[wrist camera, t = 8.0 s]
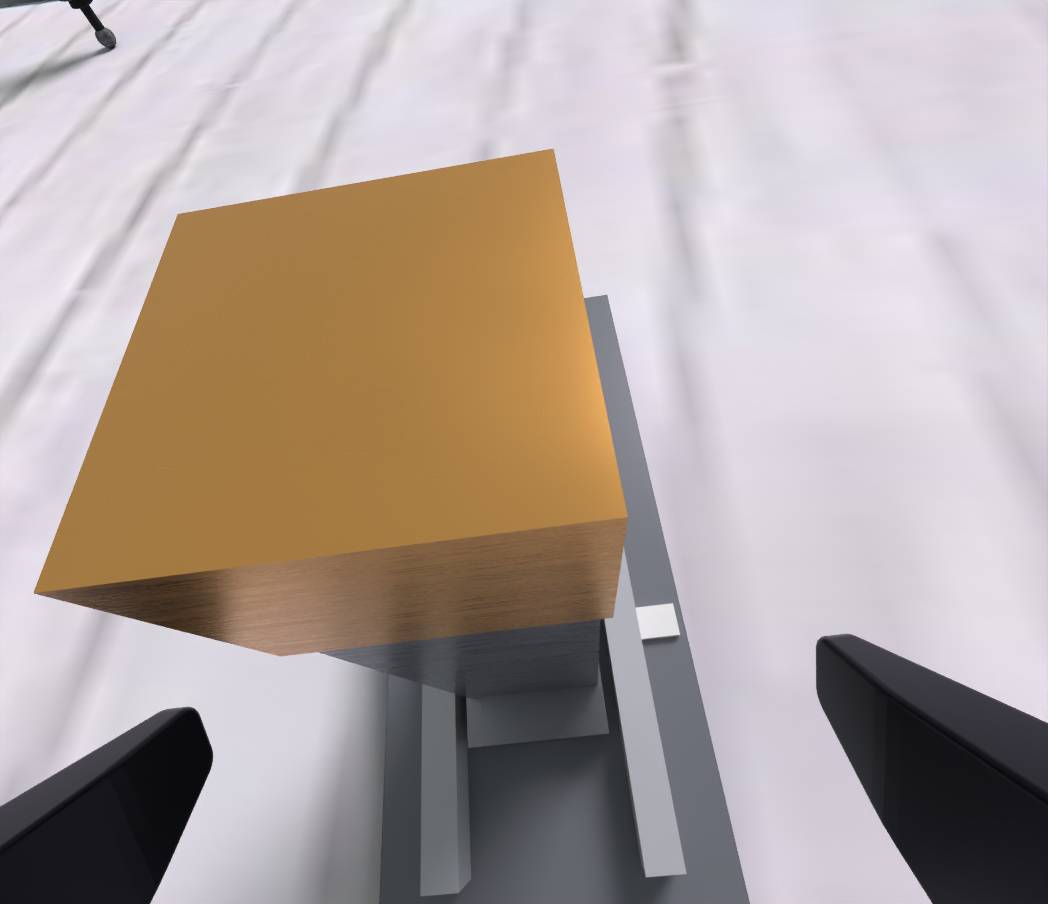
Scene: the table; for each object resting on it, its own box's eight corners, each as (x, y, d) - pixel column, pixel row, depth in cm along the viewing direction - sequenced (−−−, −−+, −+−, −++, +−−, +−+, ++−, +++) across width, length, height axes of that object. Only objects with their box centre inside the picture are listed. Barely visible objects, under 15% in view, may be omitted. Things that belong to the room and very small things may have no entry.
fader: (608, 733, 12) (669, 718, 2) (478, 746, 13) (-44, 793, 2) (579, 538, 15) (541, 89, 5) (470, 551, 15) (201, 151, 5)
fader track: (730, 891, 12) (769, 936, 10) (407, 918, 13) (355, 968, 10) (606, 330, 21) (607, 269, 18) (417, 359, 22) (391, 303, 19)
